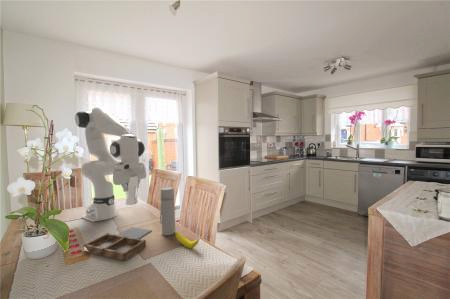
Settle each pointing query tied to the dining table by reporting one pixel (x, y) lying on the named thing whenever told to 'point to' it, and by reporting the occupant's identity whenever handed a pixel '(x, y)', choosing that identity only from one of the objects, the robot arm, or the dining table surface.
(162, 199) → the water bottle
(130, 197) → the beer glass
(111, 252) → the frame
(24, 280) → the dining table surface
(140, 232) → the charcoal mat
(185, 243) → the banana
